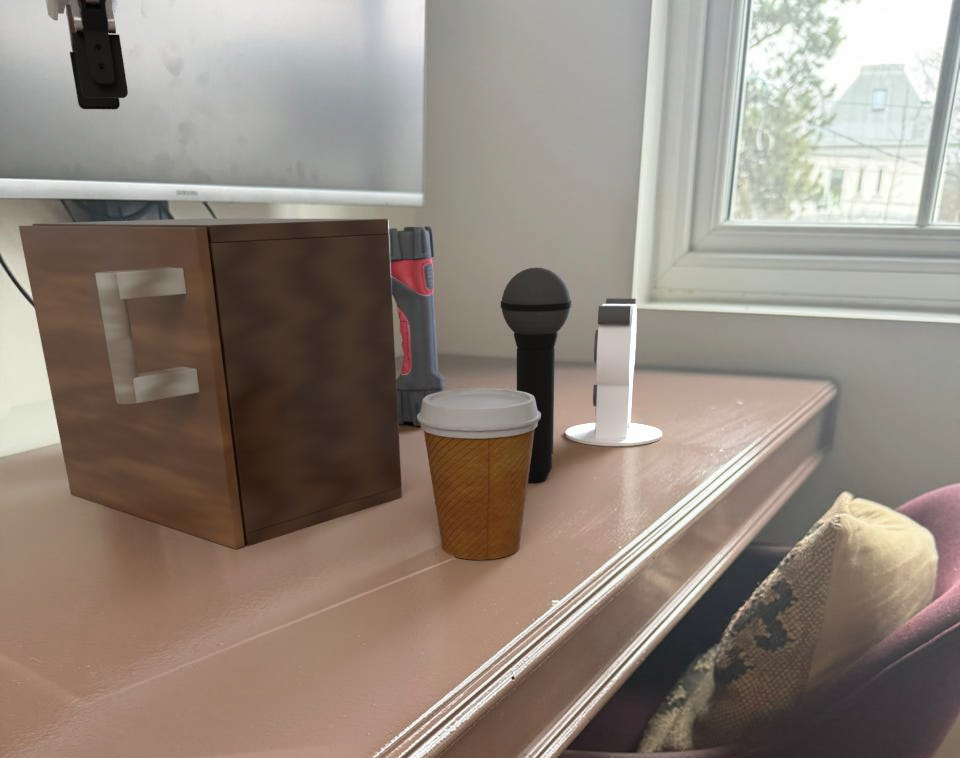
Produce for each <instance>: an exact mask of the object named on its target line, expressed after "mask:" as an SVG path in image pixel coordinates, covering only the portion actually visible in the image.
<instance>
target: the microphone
mask: <svg viewBox="0 0 960 758" xmlns="http://www.w3.org/2000/svg"><path fill="white" fill-rule="evenodd" d="M566 284H567V283H565V282H564V280H563V279H562V278H561V277H560V275H558V274H557V273H556V272H554V271H552V270H550V269H548V268H545V267H529V268H526V269H523V270H521V271H520V272H517V273H516V274H515V275H514V276H513V277H512V278H511V279H510V280H509V281H508V283H507V284H506V285H505V288H504V290H503V293H502V296H501V301H500V309H501V313H502V316H503V319H504V322H505V323H506V325H507V326H508V327H509V329H510V330H511V331H512V332H513V337H514V341H515V345H516V391H521V392H526V393H529V394H531V395H533V396H534V398H535V401H536V406H537V410H538V411H539V412H540V413H541V418H540V420H539V421H538V426H537V427H536V428H535V429H534V437H533V447H532V455H531V462H530V470H529V478H528V484H529V483H530V484H531V483H532V484H538V483H540V484H541V483H544V482H546V481H547V478H548V477H549V475H550V473H551V471H552V469H553V454H554V415H555V354H556V349H555V346H556V343H557V339H558V335H559V331H561V329H562V328H563V326H564V325H565V324H566V321H567V320H568V318H569V315H570V312H571V308H572V300H571V295H570V291H569V289H568V287H567V285H566Z"/></svg>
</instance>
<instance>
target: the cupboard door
mask: <svg viewBox="0 0 960 758" xmlns="http://www.w3.org/2000/svg"><path fill="white" fill-rule="evenodd" d="M18 230H19V236H20V240H21V246H22V251H23V256H24V261H25V266H26V272H27V276H28V281H29V282H28V283H29V286H30V287H29V288H30V292H31V297H32V302H33V307H34V312H35V317H36V321H37V322H36V323H37V329H38V333H39V338H40V343H41V347H42V353H43V359H44V364H45V369H46V374H47V379H48V384H49V390H50V394H51V399H52V404H53V409H54V415H55V420H56V425H57V429H58V434H59V440H60V446H61V450H62V456H63V461H64V466H65V470H66V477H67V482H68V487H69V491H70V494H71V495H73V496H76V497H79V498H81V499H85V500H86V501H87V500H88V501H90V502H94V503H97V504H99V505H102V506H105V507H109V508H111V509H115V510H117V511H121V512H122V513H123V512H124V513H126V514H129V515H131V516H132V515H133V516H135V517H138V518H141V519H143V520H147V521H150V522H152V523H156V524H159V525H162V526H165V527H167V528H170V529H174V530H177V531H180V532H182V533H185V534H189V535H192V536H194V537H197V538H201V539H203V540H207V541H210V542H213V543H215V544H219V545H221V546H225V547H227V548H230V549H233V550H238V549H241V548H244V547H245V546H246V545H245V542H244V533H243V525H242V517H241V509H240V500H239V492H238V484H237V475H236V467H235V459H234V451H233V442H232V434H231V426H230V418H229V409H228V401H227V393H226V385H225V376H224V368H223V360H222V352H221V343H220V335H219V327H218V318H217V310H216V302H215V294H214V285H213V277H212V269H211V261H210V252H209V244H208V236H207V228H205V227H118V226H32V225H19V226H18Z"/></svg>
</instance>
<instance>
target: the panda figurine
mask: <svg viewBox="0 0 960 758" xmlns="http://www.w3.org/2000/svg"><path fill="white" fill-rule="evenodd" d="M597 310H598V311H597V324H598V328H597V329H596V330H595V332H594V342H593V343H594V344H593V362H594V364H596V371H595V372H596V384H593V389H592V390H593V391H592V405H593V407H595V422H590V423H583V424H578V425H574V426H570V427H569V428H567V429H566V430H565V437H566V438H567V439H568V440H571V441H573V442H576V443H580V444H584V445H585V444H586V445H591V446H599V447H600V446H601V447H602V446H603V447H631V446H632V447H633V446H640V445H647V444H651V443H654V442H657V441H659V440H661V439H662V437H663V431H662V430H660V429H659V428H657V427H654V426H651V425H647V424H641V423H633V422H632V403H633V385H634V384H633V383H634V373H635V362H636V350H637V349H636V348H637V322H638V321H637V317H638V315H637V312H638V311H637V298H627V297H626V298H619V297H618V298H617V297H616V298H614V297H612V298H610V297H609V298H607V297H606V299H605V303H602V304H601V305H598V308H597Z"/></svg>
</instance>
